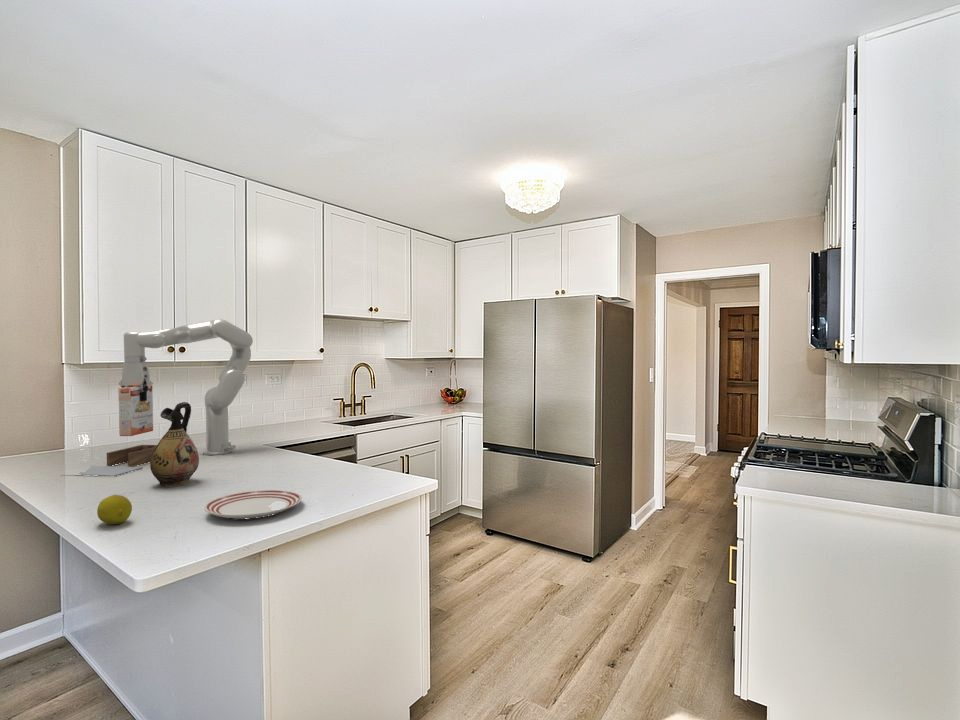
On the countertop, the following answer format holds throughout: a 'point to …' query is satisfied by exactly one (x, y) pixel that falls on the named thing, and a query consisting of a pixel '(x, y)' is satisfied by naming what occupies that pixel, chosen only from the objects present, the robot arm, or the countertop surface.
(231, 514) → the dinner plate
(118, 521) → the lemon
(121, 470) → the mat
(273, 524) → the countertop surface
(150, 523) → the countertop surface
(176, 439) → the ceramic jug
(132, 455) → the holder
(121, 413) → the cracker box
